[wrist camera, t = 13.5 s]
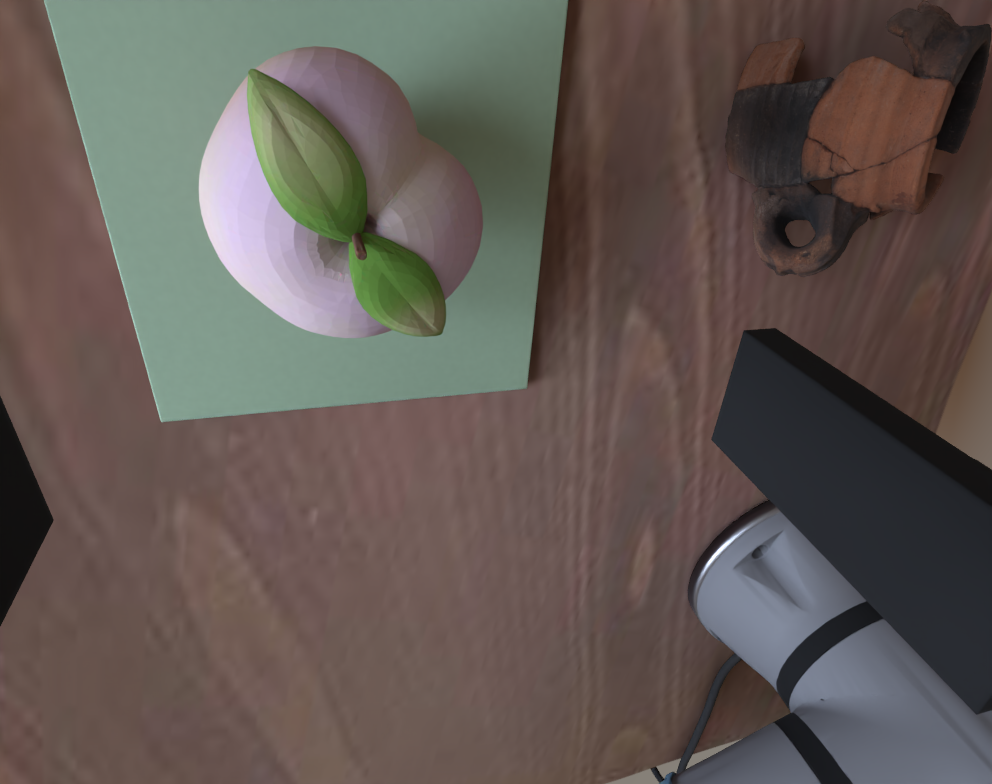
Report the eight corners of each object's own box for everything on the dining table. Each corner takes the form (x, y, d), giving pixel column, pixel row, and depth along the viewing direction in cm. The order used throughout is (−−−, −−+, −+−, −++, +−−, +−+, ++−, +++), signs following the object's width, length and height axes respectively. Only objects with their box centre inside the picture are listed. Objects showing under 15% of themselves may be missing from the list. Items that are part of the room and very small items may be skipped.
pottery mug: (770, -40, 26) (1010, -59, 21) (817, 64, 33) (1001, 69, 28) (670, 239, 28) (865, 281, 23) (735, 278, 35) (892, 316, 30)
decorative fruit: (163, 157, 22) (86, 242, 14) (318, -6, 21) (329, -13, 13) (348, 317, 28) (368, 446, 20) (481, 195, 26) (562, 279, 18)
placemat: (524, 383, 33) (527, 389, 33) (163, 415, 28) (160, 422, 28) (578, -141, 22) (584, -145, 21) (-14, -232, 17) (-24, -239, 16)
